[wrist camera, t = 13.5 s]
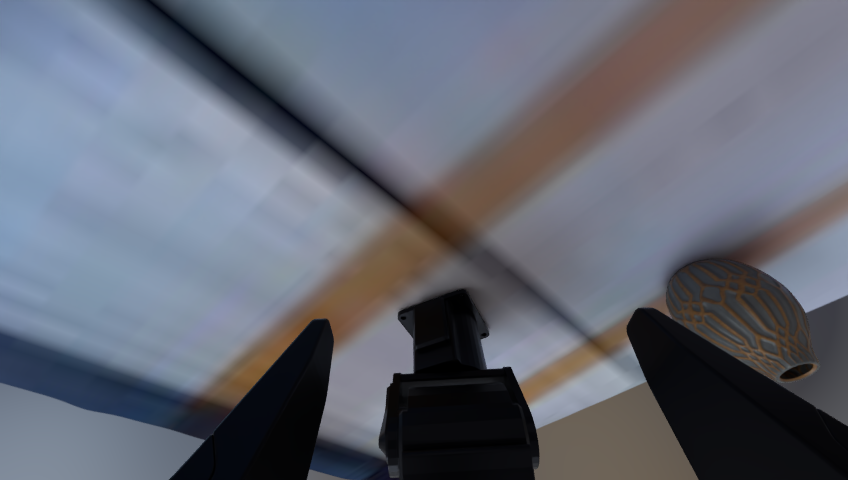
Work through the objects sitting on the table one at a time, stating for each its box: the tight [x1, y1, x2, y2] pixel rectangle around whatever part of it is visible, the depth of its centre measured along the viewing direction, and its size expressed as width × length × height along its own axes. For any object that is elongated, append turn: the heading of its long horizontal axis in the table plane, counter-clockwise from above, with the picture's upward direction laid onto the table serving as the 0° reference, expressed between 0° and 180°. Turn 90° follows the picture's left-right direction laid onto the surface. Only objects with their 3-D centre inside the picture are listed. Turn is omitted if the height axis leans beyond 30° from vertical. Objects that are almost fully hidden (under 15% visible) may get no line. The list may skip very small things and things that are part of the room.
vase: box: [666, 259, 820, 383], centre depth 23 cm, size 7×7×9 cm
